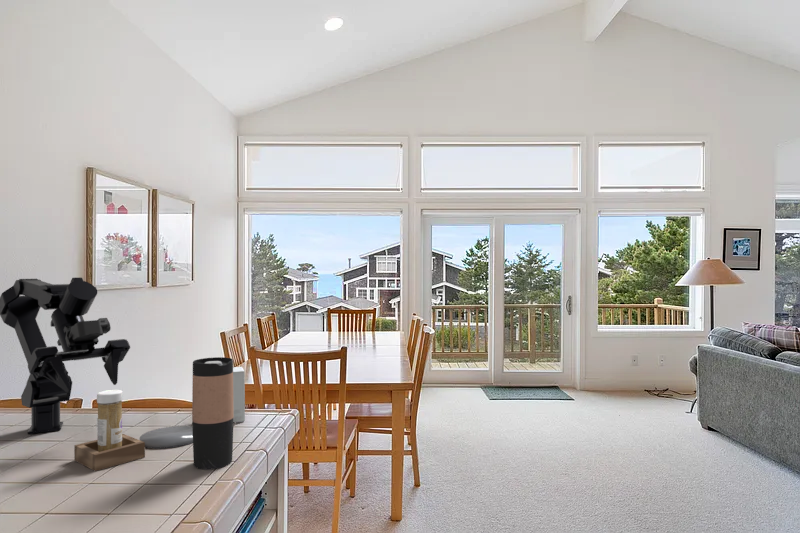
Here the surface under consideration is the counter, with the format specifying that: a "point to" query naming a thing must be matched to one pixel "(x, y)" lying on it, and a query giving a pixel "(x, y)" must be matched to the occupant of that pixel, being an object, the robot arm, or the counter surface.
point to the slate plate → (168, 437)
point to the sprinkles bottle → (109, 419)
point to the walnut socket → (109, 453)
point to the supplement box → (239, 394)
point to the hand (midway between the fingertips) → (93, 387)
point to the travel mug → (212, 412)
